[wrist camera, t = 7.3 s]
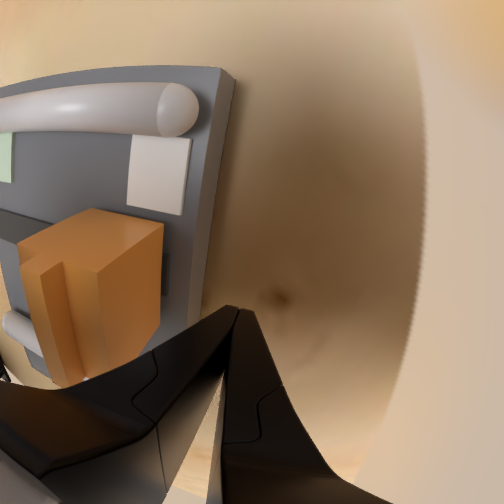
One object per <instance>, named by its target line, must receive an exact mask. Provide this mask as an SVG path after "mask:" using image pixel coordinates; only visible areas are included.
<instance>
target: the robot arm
mask: <svg viewBox="0 0 504 504" xmlns="http://www.w3.org/2000/svg"><path fill="white" fill-rule="evenodd" d="M223 373H224V375H223ZM222 376H223V380H222V387H221V394H220V401H219V409H218V416H217V423H216V431H215V439H214V446H213V454H212V462H211V469H210V477H209V485H208V493H207V502H206V504H393V503H390V502H388V501H386V500H383V499H381V498H379V497H377V496H375V495H373V494H371V493H369V492H366V491H364V490H362V489H360V488H358V487H356V486H355V485H353V484H351V483H349V482H347V481H345V480H343V479H342V478H341V477H339V476H338V475H337V474H336V473H335V472H334V471H333V470H332V469H331V468H330V467H329V466H328V464H327V463H326V461H325V460H324V458H323V457H322V455H321V453H320V452H319V450H318V449H317V447H316V445H315V444H314V442H313V441H312V439H311V437H310V436H309V434H308V433H307V431H306V429H305V428H304V426H303V424H302V423H301V421H300V419H299V417H298V416H297V414H296V412H295V410H294V408H293V406H292V404H291V402H290V399H289V397H288V395H287V392H286V390H285V387H284V386H283V383H282V380H281V378H280V375H279V373H278V371H277V368H276V366H275V363H274V361H273V358H272V356H271V353H270V351H269V348H268V346H267V343H266V341H265V338H264V336H263V333H262V331H261V328H260V325H259V323H258V320H257V318H256V315H255V313H254V311H251V310H247V309H239V308H238V307H235V306H231V305H225V306H223V307H222V308H220V309H219V310H217V311H215V312H214V313H212V314H210V315H209V316H207V317H205V318H204V319H202V320H200V321H199V322H197V323H195V324H194V325H192V326H190V327H189V328H187V329H185V330H184V331H182V332H180V333H179V334H177V335H175V336H174V337H172V338H170V339H169V340H167V341H165V342H163V343H162V344H160V345H158V346H157V347H155V348H153V349H152V351H151V350H150V351H148V352H146V353H144V354H143V355H141V356H139V357H137V358H135V359H133V360H132V361H130V362H128V363H126V364H124V365H121V366H119V367H117V368H115V369H113V370H110V371H108V372H105V373H103V374H101V375H98V376H96V377H93V378H91V379H88V380H86V381H83V382H80V383H78V384H75V385H73V386H70V387H67V388H63V389H57V390H45V389H39V388H33V387H28V386H23V385H19V384H14V383H10V382H11V379H10V377H9V375H8V373H7V371H6V369H5V367H4V365H3V363H2V360H1V358H0V378H3V379H4V380H5V381H1V380H0V504H162V503H163V501H164V499H165V497H166V495H167V494H166V493H168V491H169V489H170V487H171V485H172V483H173V481H174V479H175V477H176V475H177V472H178V470H179V468H180V466H181V464H182V462H183V460H184V458H185V456H186V454H187V452H188V450H189V448H190V445H191V443H192V441H193V439H194V437H195V435H196V433H197V431H198V429H199V426H200V424H201V422H202V420H203V418H204V416H205V414H206V412H207V409H208V407H209V405H210V403H211V401H212V399H213V396H214V394H215V392H216V390H217V388H218V385H219V383H220V381H221V379H222Z"/></svg>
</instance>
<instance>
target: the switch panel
mask: <svg viewBox="0 0 504 504" xmlns="http://www.w3.org/2000/svg"><path fill="white" fill-rule="evenodd" d="M235 81H236V80H235V79H234V78H233V77H232V76H230V75H229V74H228V73H227V72H226V71H225V70H223V69H222V68H216V67H201V66H171V65H156V66H127V67H112V68H101V69H92V70H83V71H76V72H69V73H63V74H57V75H52V76H46V77H41V78H37V79H32V80H28V81H24V82H20V83H16V84H12V85H8V86H5V87H1V88H0V263H1V268H2V273H3V277H4V282H5V286H6V290H7V294H8V298H9V302H10V305H11V309H12V311H8V312H7V313H5V315H4V316H3V319H2V326H3V329H4V331H5V333H6V334H7V335H9V336H10V337H11V338H13V339H14V340H16V341H17V342H19V343H20V344H22V345H23V346H24V348H25V351H26V354H27V356H28V359H29V361H30V364H31V366H32V367H33V368H34V369H36V370H37V371H39V372H41V373H42V374H44V375H45V376H47V377H49V378H50V379H52V378H51V376H50V373H49V371H48V368H47V366H46V363H45V360H44V357H43V355H42V352H41V349H40V346H39V343H38V340H37V337H36V333H35V330H34V327H33V323H32V320H31V316H30V313H29V309H28V305H27V301H26V297H25V292H24V288H23V283H22V279H21V273H20V268H19V266H20V261H19V255H18V249H17V243H19V242H21V241H23V240H24V239H26V238H28V237H30V236H32V235H34V234H36V233H38V232H40V231H42V230H44V229H46V228H48V227H50V226H52V225H54V224H56V223H59V222H61V221H63V220H65V219H67V218H69V217H71V216H74V215H76V214H78V213H80V212H83V211H85V210H87V209H89V208H94V209H99V210H104V211H108V212H113V213H117V214H122V215H127V216H131V217H136V218H140V219H145V220H149V221H154V222H158V223H163V224H164V232H163V248H162V267H161V295H160V325H159V327H158V328H157V330H156V331H155V332H154V334H153V335H152V337H151V338H150V340H149V341H148V342H147V344H146V345H145V347H144V348H143V350H142V351H141V353H140V354H139V356H141V355H143V354H144V353H146V352H148V351H150V350H151V351H152V349H153V348H155V347H157V346H158V345H160V344H162V343H163V342H165V341H167V340H169V339H170V338H172V337H174V336H175V335H177V334H179V333H180V332H182V331H184V330H185V329H187V328H189V327H190V326H192V325H194V324H195V323H197V322H199V321H200V312H201V303H202V294H203V285H204V277H205V269H206V261H207V253H208V245H209V238H210V230H211V223H212V216H213V209H214V202H215V196H216V189H217V183H218V176H219V170H220V164H221V158H222V152H223V146H224V140H225V134H226V129H227V123H228V118H229V112H230V107H231V102H232V96H233V91H234V86H235ZM139 356H138V357H139ZM88 379H89V378H87V377H85V378H84V379H83V381H86V380H88ZM83 381H82V382H83Z"/></svg>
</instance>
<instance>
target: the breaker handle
mask: <svg viewBox="0 0 504 504" xmlns="http://www.w3.org/2000/svg"><path fill="white" fill-rule="evenodd" d="M163 232H164V224H163V223H158V222H154V221H149V220H145V219H140V218H136V217H131V216H127V215H122V214H117V213H113V212H108V211H104V210H99V209H94V208H89V209H87V210H85V211H83V212H80V213H78V214H76V215H74V216H71V217H69V218H67V219H65V220H63V221H61V222H59V223H56V224H54V225H52V226H50V227H48V228H46V229H44V230H42V231H40V232H38V233H36V234H34V235H32V236H30V237H28V238H26V239H24V240H23V241H21V242H19V243H17V249H18V255H19V261H20V266H19V268H20V273H21V279H22V283H23V288H24V292H25V297H26V301H27V305H28V309H29V313H30V316H31V320H32V323H33V327H34V330H35V333H36V337H37V340H38V343H39V346H40V349H41V352H42V355H43V357H44V360H45V363H46V366H47V368H48V371H49V373H50V376H51V378H52V381H53V383H55V384H57V385H58V386H60V387H62V388H67V387H70V386H73V385H75V384H78V383H80V382H82V381H83V379H84V378H85V377H87V378H89V379H91V378H93V377H96V376H98V375H101V374H103V373H105V372H108V371H110V370H113V369H115V368H117V367H119V366H121V365H124V364H126V363H128V362H130V361H132V360H133V359H135V358H137V357H138V356H139V354H140V353H141V351H142V350H143V348H144V347H145V345H146V344H147V342H148V341H149V340H150V338H151V337H152V335H153V334H154V332H155V331H156V330H157V328H158V327H159V325H160V295H161V267H162V248H163Z"/></svg>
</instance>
